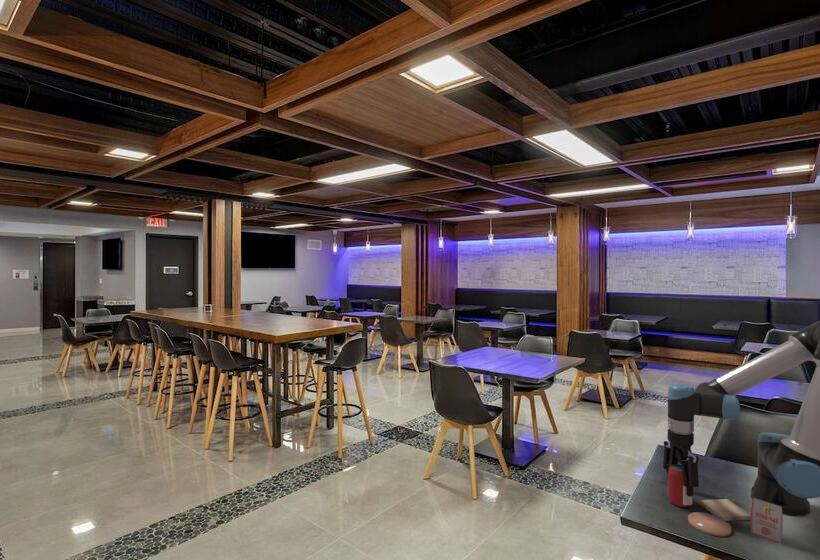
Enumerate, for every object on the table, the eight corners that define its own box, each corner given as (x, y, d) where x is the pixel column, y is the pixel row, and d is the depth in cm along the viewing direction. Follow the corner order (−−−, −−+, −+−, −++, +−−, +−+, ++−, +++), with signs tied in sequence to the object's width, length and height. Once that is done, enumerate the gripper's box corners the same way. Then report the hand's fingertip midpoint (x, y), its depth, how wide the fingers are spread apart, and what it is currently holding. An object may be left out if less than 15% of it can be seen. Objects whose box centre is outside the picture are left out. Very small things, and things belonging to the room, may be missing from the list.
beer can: (694, 509, 141) (695, 473, 141) (672, 507, 143) (672, 471, 142) (686, 498, 148) (686, 464, 148) (665, 496, 149) (665, 462, 149)
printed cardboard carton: (753, 528, 131) (754, 495, 131) (782, 538, 126) (783, 504, 126) (750, 532, 129) (751, 499, 128) (780, 543, 123) (780, 509, 123)
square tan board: (726, 502, 145) (726, 498, 145) (752, 519, 135) (752, 515, 135) (698, 503, 145) (698, 500, 145) (722, 520, 135) (722, 517, 135)
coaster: (712, 514, 138) (712, 511, 138) (741, 535, 127) (741, 532, 127) (679, 516, 137) (679, 513, 137) (705, 537, 126) (705, 533, 126)
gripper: (651, 421, 154) (650, 484, 155) (690, 442, 135) (690, 515, 135) (671, 420, 155) (670, 483, 155) (713, 441, 135) (712, 514, 136)
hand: (679, 498), depth 145 cm, fingers closed on beer can, 7 cm apart
